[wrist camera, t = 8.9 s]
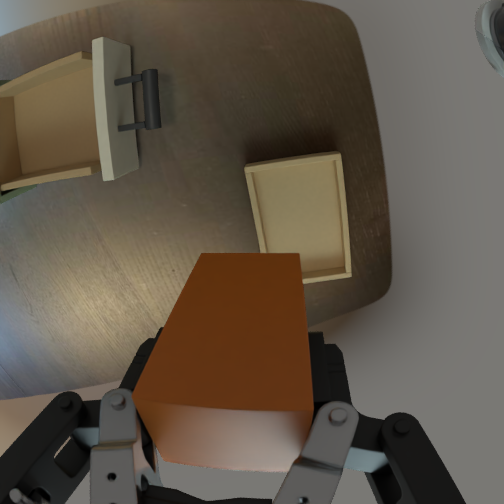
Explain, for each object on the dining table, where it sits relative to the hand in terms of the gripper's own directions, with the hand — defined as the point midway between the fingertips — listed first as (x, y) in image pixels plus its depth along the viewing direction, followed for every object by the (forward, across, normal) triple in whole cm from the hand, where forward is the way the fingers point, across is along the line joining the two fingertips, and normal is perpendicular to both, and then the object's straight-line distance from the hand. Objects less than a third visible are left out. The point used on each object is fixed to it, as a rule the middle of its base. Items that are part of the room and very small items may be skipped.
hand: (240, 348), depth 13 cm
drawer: (+21, +20, -11) cm, 31 cm away
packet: (+5, 0, 0) cm, 5 cm away
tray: (+22, -4, +2) cm, 23 cm away
